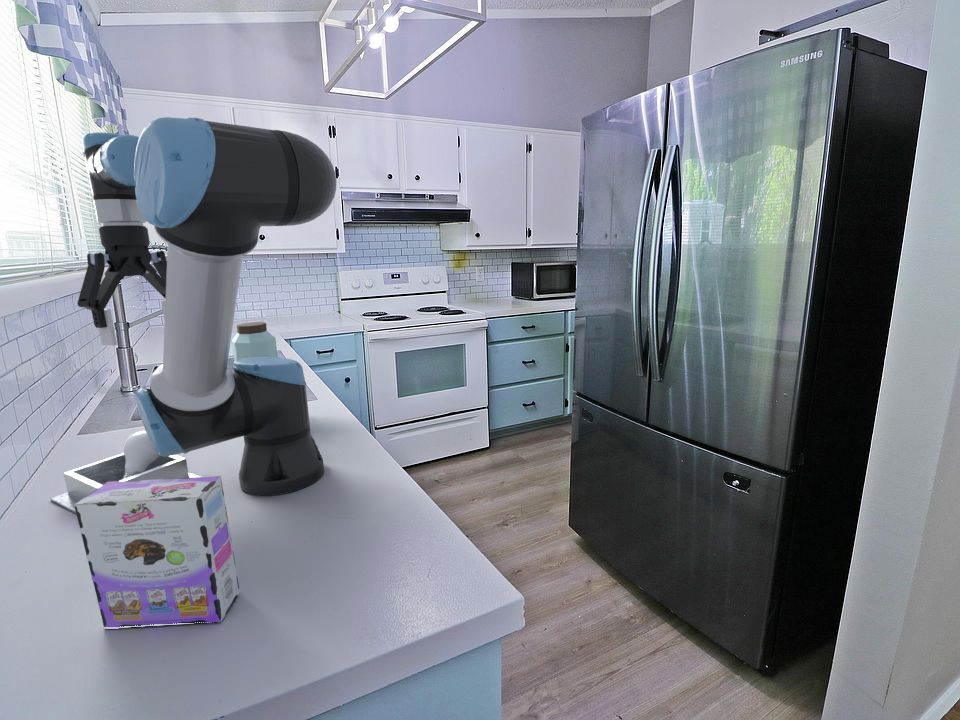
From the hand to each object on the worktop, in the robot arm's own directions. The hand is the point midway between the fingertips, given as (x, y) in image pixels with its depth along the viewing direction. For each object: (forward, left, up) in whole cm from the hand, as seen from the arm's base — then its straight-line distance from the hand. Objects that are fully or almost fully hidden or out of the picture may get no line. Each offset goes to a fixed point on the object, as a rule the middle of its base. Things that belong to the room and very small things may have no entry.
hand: (143, 338), depth 99 cm
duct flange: (-6, +10, -27) cm, 29 cm away
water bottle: (+4, -26, -27) cm, 38 cm away
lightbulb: (-8, +11, -25) cm, 29 cm away
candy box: (-46, +24, -27) cm, 58 cm away
